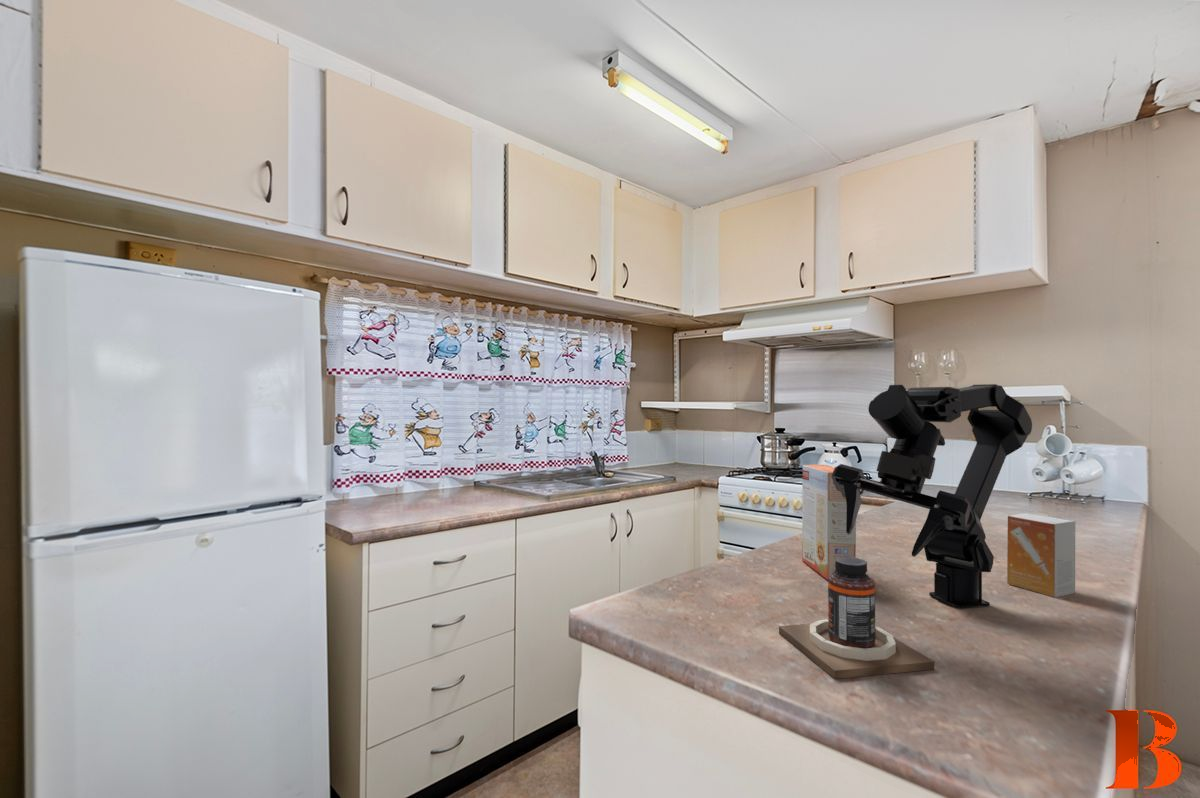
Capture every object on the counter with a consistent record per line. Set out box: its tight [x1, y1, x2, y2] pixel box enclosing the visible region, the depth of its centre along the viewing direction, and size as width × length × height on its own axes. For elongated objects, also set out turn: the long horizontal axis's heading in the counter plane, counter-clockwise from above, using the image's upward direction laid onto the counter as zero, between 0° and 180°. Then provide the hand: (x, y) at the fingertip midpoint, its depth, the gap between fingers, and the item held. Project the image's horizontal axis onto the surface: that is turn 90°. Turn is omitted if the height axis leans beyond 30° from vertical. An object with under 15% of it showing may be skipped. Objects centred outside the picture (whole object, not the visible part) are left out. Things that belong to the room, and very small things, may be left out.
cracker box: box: [801, 464, 857, 581], centre depth 114 cm, size 14×6×21 cm, turn 179°
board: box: [778, 623, 935, 680], centre depth 77 cm, size 14×14×1 cm
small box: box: [1006, 512, 1076, 598], centre depth 103 cm, size 8×6×13 cm
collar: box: [809, 618, 896, 661], centre depth 77 cm, size 11×11×1 cm
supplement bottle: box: [827, 557, 876, 649], centre depth 78 cm, size 6×6×11 cm
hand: (879, 544), depth 84 cm, fingers open, 9 cm apart
